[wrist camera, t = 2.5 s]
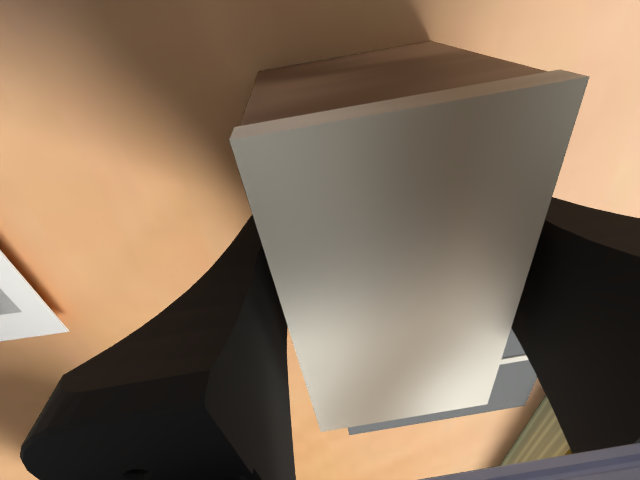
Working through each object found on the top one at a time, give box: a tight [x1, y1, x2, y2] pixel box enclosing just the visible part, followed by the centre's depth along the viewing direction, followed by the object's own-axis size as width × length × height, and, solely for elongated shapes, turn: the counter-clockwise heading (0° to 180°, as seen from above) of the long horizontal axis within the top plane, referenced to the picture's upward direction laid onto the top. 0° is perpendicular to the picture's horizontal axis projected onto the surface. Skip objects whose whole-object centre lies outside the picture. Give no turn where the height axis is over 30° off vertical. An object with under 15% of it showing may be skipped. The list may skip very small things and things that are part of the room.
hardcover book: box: [500, 396, 572, 466], centre depth 25 cm, size 12×21×4 cm, turn 3°
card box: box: [229, 41, 589, 432], centre depth 10 cm, size 5×9×6 cm, turn 8°
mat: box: [348, 328, 537, 435], centre depth 19 cm, size 12×12×1 cm
